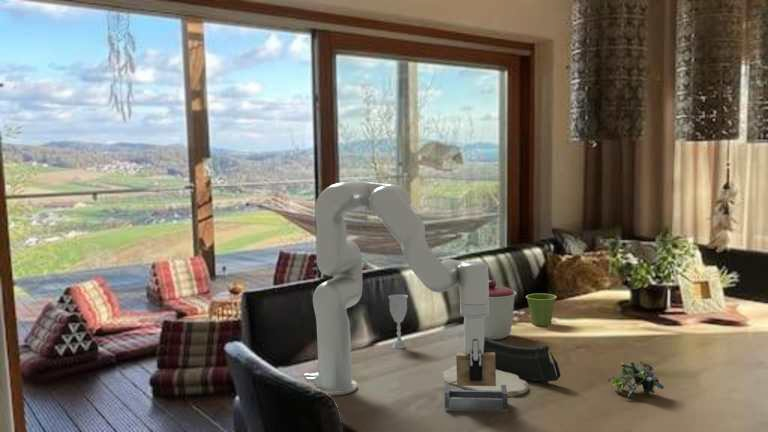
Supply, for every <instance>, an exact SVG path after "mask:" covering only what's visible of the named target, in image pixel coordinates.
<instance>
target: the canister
mask: <svg viewBox="0 0 768 432" xmlns="http://www.w3.org/2000/svg"><path fill="white" fill-rule="evenodd" d="M488 280H489V315H488V316H486V317H485V337H486V338H488V339H491V340H493V341H496V340H503V339H505V338H507V337H509V335H510V334H511V332H512V327H513V326H512V324H513V316H514V307H515V297H516V295H517V292H516V290H513V289H512V288H511V287H510V288H509V287H506V286H499V285H497V282H496V281H495V280H493V279H491V280H490V279H488Z"/></svg>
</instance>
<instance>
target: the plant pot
mask: <svg viewBox="0 0 768 432" xmlns="http://www.w3.org/2000/svg"><path fill="white" fill-rule="evenodd" d="M525 298H526V299H527V304H528V307H529V313H530V319H531V324H532V325H534V326H536V325H539V326H538V327H545V326H547V327H549V326H551V325H552V320H553V313H554V312H553V310H554V306H555V302H556V299H557V295H554V294H550V293H531V294H527V295H526V296H525ZM548 325H549V326H548Z"/></svg>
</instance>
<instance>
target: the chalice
mask: <svg viewBox="0 0 768 432" xmlns="http://www.w3.org/2000/svg"><path fill="white" fill-rule="evenodd" d="M387 297H388V299H389V311H390V314H391V317H392V319H393V322H395V323H396V330H397V332H396V335H397V338H396V339H395V340H394V341H393V344H392V347H391V348H393V349H396V350H397V349H401V350H402V349H405V347H406V348H407V345H406V343H405V340H404V339H403V338H401V337H402V336H401V335H402V332H401V328H402V327H401V323H402V322H404V319H405V317H406V315H407V310H408V305H407V304H408V300H407V299H408V297H409V296H408V294H398V293H397V294H391V295H388V296H387Z"/></svg>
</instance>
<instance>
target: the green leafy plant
mask: <svg viewBox="0 0 768 432" xmlns="http://www.w3.org/2000/svg"><path fill="white" fill-rule="evenodd" d="M639 363H640V364H638V363H637V362H635V361H634V360H632V361H631V362H630V363H628V364H626V363H623V362H621V363H620V366H621V367H622V368H621V369H622V372H621V374H620V375H619V376H617V377H616V378H615V377H614V375H610V377H609V378H608V380H607V381H608V382H609V383H610V382H611V384H610V385H611V386H612V388H614V387H616V389H617V390H620V393H623V390H624V388H625V387H626V386H627V387H628V389H627V390H628V391H627V392H628V395H627V397H626V399H629V397H630V396H631V394H633V393H634V391H636V389H637V387H639V386H641V387H642V389H643V392H645V394H650V393H652V394H655V393H656V392H655V390H654V387H655V386H656V387H657V388H658V389H661V390H663V389H664V388H665V386H664V385H663V384H661V383H660V382H659V378H658V376H655V374H656V373H655V372H653V371H654V367H653V366H652V365H651V364H650V363H648V362H646V361H642V360H640V362H639ZM612 379H613V380H612ZM632 379H633V380H634V383H632V382H631V381H632ZM611 380H612V381H611Z"/></svg>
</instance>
